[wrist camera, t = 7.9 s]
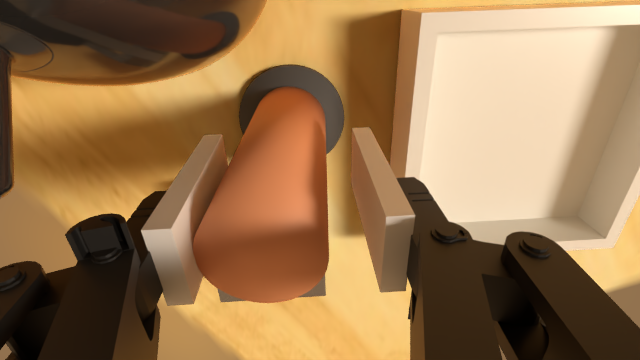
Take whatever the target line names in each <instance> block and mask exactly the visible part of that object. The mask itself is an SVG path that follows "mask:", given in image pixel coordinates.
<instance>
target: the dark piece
mask: <svg viewBox="0 0 640 360" xmlns="http://www.w3.org/2000/svg"><path fill="white" fill-rule="evenodd" d="M266 2H267V0H0V198H2V197H4V196H6V195H7V194H8V193H9V192H11V190H12V189H13V187H14V160H13V125H12V88H11V76H12V77H17V78H23V79H28V80H35V81H42V82H49V83H58V84H68V85H82V86H127V85H138V84H146V83H152V82H158V81H163V80H168V79H172V78H176V77H179V76H183V75H187V74H190V73H193V72H195V71H198V70H200V69H203V68H205V67H207V66H209V65H211V64H213V63H214V62H216V61H218V60H219V59H221V58H222V57H224V56H225V55H227V54H228V53H229V52H230V51H232V50H233V49H234V48H235V47H236V46H237V45H238V44H239V43H240V42H241V41H242V40H243V39H244V38H245V37H246V36H247V34H248V33H249V32H250V31H251V29H252V28H253V26H254V25H255V23H256V22H257V20H258V18H259V17H260V15H261V13H262V11H263V9H264V7H265V4H266Z"/></svg>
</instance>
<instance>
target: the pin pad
mask: <svg viewBox="0 0 640 360" xmlns="http://www.w3.org/2000/svg"><path fill="white" fill-rule="evenodd" d="M281 87H297V88H301V89H303V90H306V91H307V92H309V93H311V94H312V95H313V96H314V97H315V98H316V99H317V100H318V101H319V103H320V104H321V106H322V108H323V110H324V114H325V124H326V155H327V154H328V153H329V152H330V151H331V150H332V149H333V148H334V146H335V145H336V143H337V142H338V140H339V138H340V136H341V133H342V130H343V125H344V110H343V105H342V102H341V99H340V96H339V94H338V92H337V90H336V89H335V88H334V86H333V85H332V84H331V82H330V81H329V80H328V79H327V78H325V77H324V76H323V75H322V74H320V73H319V72H317V71H315V70H313V69H311V68H308V67H305V66H300V65H281V66H277V67H273V68H271V69H269V70H267V71H265V72H263V73H261V74H260V75H259V76H258V77H256V78H255V79H254V80H253V81H252V82H251V84H250V85H249V87H248V88H247V90H246V92H245V94H244V96H243V98H242V101H241V105H240V112H239V119H240V126H241V130H242V132H243V135H244V133H245V131H246V129H247V127H248V125H249V123H250V121H251V119H252V117H253V115H254V113H255V111H256V109H257V107H258V105H259V103H260V101H261V100H262V98H263V97H264V96H265V95H266V94H268V93H269V92H271V91H272V90H274V89H277V88H281Z"/></svg>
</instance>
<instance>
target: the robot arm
mask: <svg viewBox="0 0 640 360" xmlns="http://www.w3.org/2000/svg"><path fill="white" fill-rule="evenodd" d="M227 168H228V163H227V158H226V152H225V146H224V141H223V135H222V134H214V135H204V136H203V137H202V139H201V140H200V142H199V143H198V145H197V146H196V148H195V149H194V151H193V152H192V154H191V155H190V157H189V159H188V160H187V162H186V163H185V165H184V166H183V168H182V169H181V171H180V172H179V174H178V175H177V177H176V178H175V180H174V181H173V183H172V184H171V186H170V187H169V189H168V190H167V191H155V192H154V193H152V194H151V195H149V196H148V197H146V198H145V199H143V201H142V202H141V203H140V205H139V206H138V207H137V210H135V211H134V213H133V214H132V215H131V218H129V219H128V221H127V222H126V220H125V218H124V217H122V216H121V215H119V214H112V213H111V214H101V215H98V216H94V217H90V218H88V219H86V220H83V221H81V222H79V223H78V224H76V225H75V226H73V227H72V228H70V229H69V231H68V232H67V233H66V234H65V236H66V238H67V240H68V242H69V244H70V246H71V248H72V250H73V252H74V254H75V256H76V258H77V260H78V262H77V264H76V266H74V267H70V268H66V269H63V270H59V271H55V272H51V273H47V274H46V273H45V272H44V270H43V268H42V266H41V265H40V264H38V263H37V262H32V261H24V262H19V263H14V264H10V265H8V266H5V267H2V268H0V350H1V348H2V347H3V346H4V345H5V343H6V344H7V346H8V347H9V348H10V350H11V351H12V352H11V354H10V355H9V356H8V358H7V359H5V360H157V354H158V342H159V341H158V340H159V329H160V312H159V309H158V307H157V303H158V300H159V298H160V296H161V294H162V292H163V295H164V298H165V301H166V303H167V306H170V305H186V304H194V301H195V299H196V296H197V293H198V290H199V287H200V284H201V281H202V278H203V274H202V273H201V271H200V270H199V268H198V266H197V264H196V260H195V257H194V254H193V242H194V237H195V234H196V232H197V230H198V228H199V226H200V224H201V222H202V219H203V217H204V215H205V213H206V211H207V209H208V207H209V205H210V203H211V201H212V199H213V197H214V195H215V193H216V191H217V189H218V187H219V185H220V183H221V180H222V178H223V176H224V174H225V172H226V170H227ZM351 185H352V189H353V193H354V196H355V200H356V204H357V207H358V211H359V215H360V219H361V222H362V226H363V230H364V233H365V237H366V241H367V245H368V248H369V252H370V256H371V259H372V263H373V267H374V271H375V274H376V278H377V282H378V285H379V289H380V292H394V291H406V284H407V277H408V280H409V282H410V285H411V288H412V293H411V300H410V307H409V315H408V319H410V360H502V356H501V352H500V348H499V345H500V347H501V349H502V351H503V353H504V355H505V357H506V359H507V360H640V328H639V327H638V326H637V325H636V324H635V323H634V322H633V321H632V320H631V319H630V318H629V317H628V316H627V315H626V314H625V313H624V311H623V310H622V309H621V308H620V307H619V306H618V305H617V304H616V303H615V302H614V301H613V300H612V299H611V298H610V297H609V296H608V295H607V294H606V293H605V292H604V291H603V290H602V289H601V288H600V287H599V286H598V284H597V283H596V282H595V281H594V280H593V279H592V278H591V277H590V276H589V275H588V274H587V273H586V272H585V271H584V270H583V269H582V268H581V267H580V266H579V265H578V264H577V263H576V262H575V261H574V260H573V259H572V258H571V256H570V255H569V254H568V253H567V252H566V251H565V250H564V249H563V248H562V247H561V246H560V245H558V244H557V243H556V242H554V241H553V240H551V239H549V238H547V237H545V236H543V235H540V234H536V233H532V232H523V231H520V232H514V233H511V234H510V235H508V236H507V237H506V240H505V244H504V245H501V244H494V243H488V242H482V241H477V240H473V239H472V236H471V235H470V233H469V231H467V230H466V229H465V228H464V227H462V226H460V225H458V224H456V223H454V222H449V221H448V220H447V218H446V216H445V215H444V213H443V212H442V210H441V209H440V207H439V206H438V204H437V203H436V201H435V200H434V198H433V196H432V195H431V194H430V192H429V190H428V189H427V187H426V186H425V184H424V183H422V182H421V181H419V180H418V179H416V178H415V177H404V178H396V177H395V175H394V173H393V171H392V169H391V167H390V165H389V163H388V162H387V160H386V158H385V156H384V154H383V152H382V150H381V148H380V146H379V144H378V142H377V140H376V138H375V136H374V135H373V133H372V131H371V129H370V127H363V128H352V160H351Z"/></svg>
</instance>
